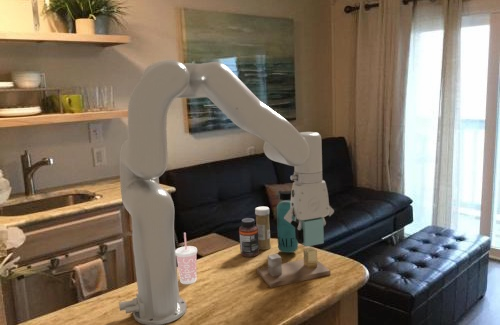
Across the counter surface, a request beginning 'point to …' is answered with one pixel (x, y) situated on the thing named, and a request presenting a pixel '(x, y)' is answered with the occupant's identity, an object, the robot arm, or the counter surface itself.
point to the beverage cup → (187, 263)
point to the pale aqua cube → (313, 232)
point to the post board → (289, 271)
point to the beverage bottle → (285, 225)
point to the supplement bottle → (249, 238)
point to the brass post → (310, 257)
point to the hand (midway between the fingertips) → (310, 239)
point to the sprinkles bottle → (263, 227)
